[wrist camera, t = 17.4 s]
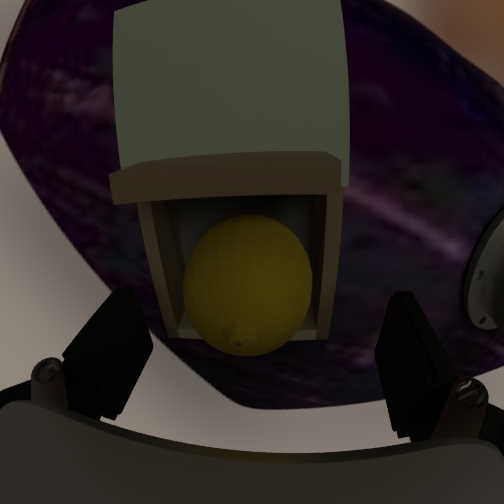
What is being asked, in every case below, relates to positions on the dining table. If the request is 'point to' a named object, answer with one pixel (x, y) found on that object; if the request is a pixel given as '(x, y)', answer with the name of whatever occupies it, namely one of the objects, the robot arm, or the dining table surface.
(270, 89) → the cover
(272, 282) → the lemon
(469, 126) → the dining table surface
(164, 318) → the beige box
